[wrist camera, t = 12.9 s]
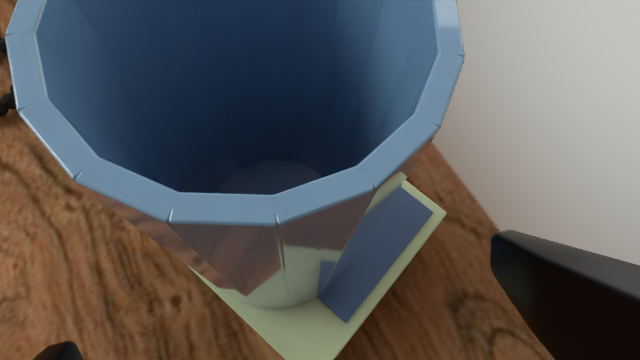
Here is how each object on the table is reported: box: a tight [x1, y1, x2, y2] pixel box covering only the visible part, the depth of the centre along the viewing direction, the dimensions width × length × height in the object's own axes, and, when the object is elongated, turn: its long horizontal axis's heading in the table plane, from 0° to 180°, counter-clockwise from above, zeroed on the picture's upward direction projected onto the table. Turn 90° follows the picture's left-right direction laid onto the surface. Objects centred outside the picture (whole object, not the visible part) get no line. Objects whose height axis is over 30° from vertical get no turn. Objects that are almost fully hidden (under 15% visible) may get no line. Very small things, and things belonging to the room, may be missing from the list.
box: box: [186, 180, 447, 360], centre depth 19 cm, size 10×9×4 cm
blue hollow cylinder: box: [5, 0, 465, 308], centre depth 12 cm, size 6×6×12 cm
